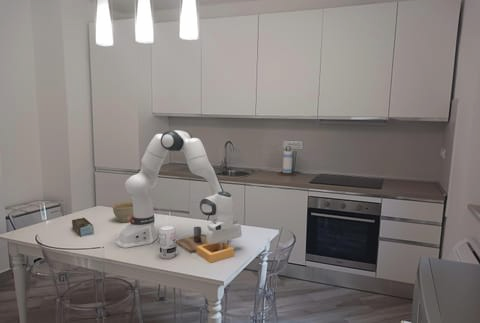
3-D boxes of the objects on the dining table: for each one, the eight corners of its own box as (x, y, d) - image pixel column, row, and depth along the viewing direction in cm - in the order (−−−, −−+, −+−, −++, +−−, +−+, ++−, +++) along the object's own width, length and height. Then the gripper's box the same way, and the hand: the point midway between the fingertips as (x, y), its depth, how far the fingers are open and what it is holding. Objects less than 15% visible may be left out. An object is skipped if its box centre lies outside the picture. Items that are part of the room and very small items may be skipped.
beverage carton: (80, 237, 202) (79, 226, 201) (71, 229, 216) (71, 219, 216) (94, 234, 207) (93, 223, 206) (85, 226, 221) (84, 216, 221)
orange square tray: (210, 262, 166) (210, 255, 166) (196, 253, 178) (196, 246, 177) (234, 255, 175) (233, 248, 174) (219, 247, 186) (218, 240, 185)
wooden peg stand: (191, 253, 178) (190, 235, 177) (175, 242, 192) (175, 226, 191) (220, 245, 189) (219, 228, 187) (203, 236, 203) (203, 220, 202)
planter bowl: (116, 217, 240) (115, 202, 239) (140, 216, 242) (139, 201, 241) (110, 224, 224) (109, 208, 223) (135, 223, 226) (135, 207, 225)
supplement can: (161, 253, 178) (160, 225, 176) (177, 252, 179) (176, 224, 177) (158, 259, 170) (157, 230, 168) (175, 259, 171) (174, 230, 169)
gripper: (237, 218, 186) (237, 242, 188) (204, 225, 174) (204, 251, 176) (244, 220, 181) (244, 245, 183) (211, 228, 169) (211, 255, 171)
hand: (224, 248), depth 179 cm, fingers closed on orange square tray, 2 cm apart
